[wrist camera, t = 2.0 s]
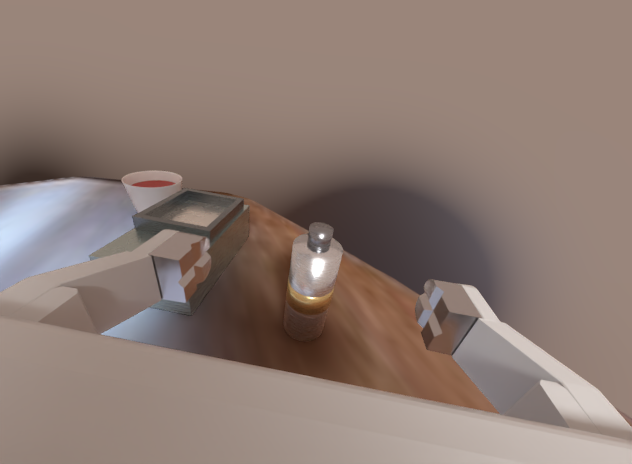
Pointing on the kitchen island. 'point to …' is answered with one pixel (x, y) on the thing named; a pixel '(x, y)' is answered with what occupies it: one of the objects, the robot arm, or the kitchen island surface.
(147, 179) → the candle
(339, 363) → the kitchen island surface
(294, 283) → the frosted glass bottle
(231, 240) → the green tray box
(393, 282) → the kitchen island surface
